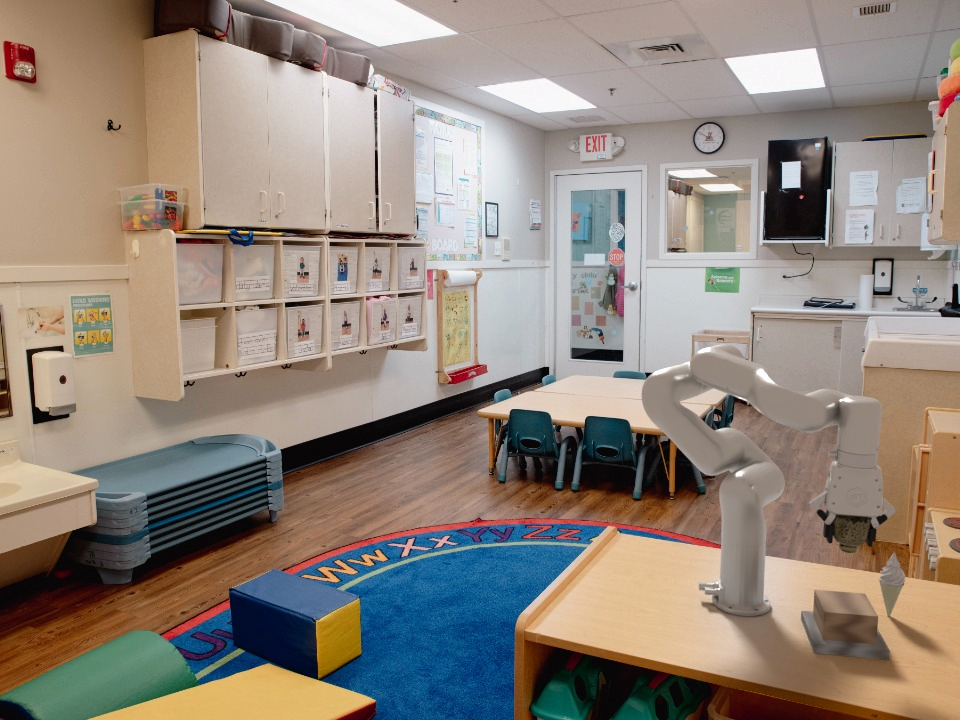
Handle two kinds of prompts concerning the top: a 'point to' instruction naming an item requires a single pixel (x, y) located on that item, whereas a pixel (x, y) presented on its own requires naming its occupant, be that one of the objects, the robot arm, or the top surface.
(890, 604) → the ice cream cone
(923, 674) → the top surface
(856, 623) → the brown block on base
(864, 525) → the cup
